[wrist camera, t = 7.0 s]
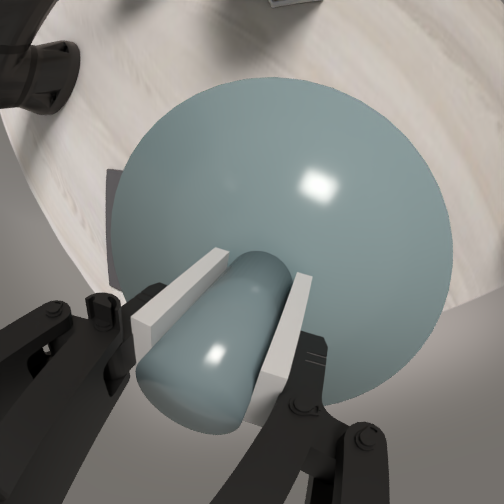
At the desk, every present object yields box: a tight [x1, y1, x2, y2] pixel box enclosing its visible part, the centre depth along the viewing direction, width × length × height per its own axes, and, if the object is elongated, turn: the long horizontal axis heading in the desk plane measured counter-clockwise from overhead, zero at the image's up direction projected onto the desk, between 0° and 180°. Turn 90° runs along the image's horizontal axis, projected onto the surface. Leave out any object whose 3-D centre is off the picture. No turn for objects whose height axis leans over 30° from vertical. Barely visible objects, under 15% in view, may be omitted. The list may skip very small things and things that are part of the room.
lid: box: [111, 77, 453, 435], centre depth 11 cm, size 20×20×9 cm
